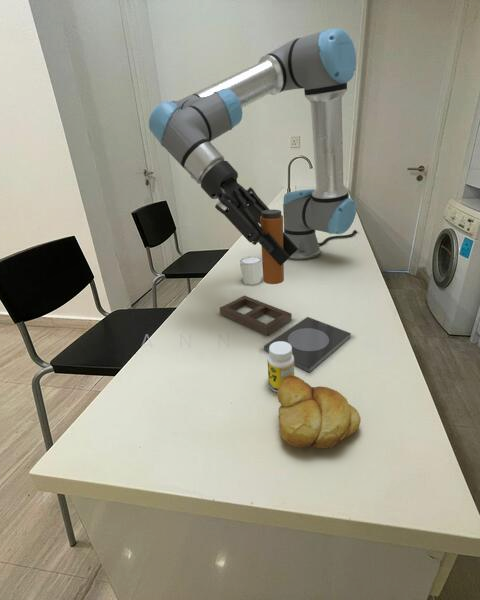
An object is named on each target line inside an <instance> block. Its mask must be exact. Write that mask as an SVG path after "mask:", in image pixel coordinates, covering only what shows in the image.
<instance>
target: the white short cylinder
mask: <svg viewBox="0 0 480 600" xmlns="http://www.w3.org/2000/svg"><path fill="white" fill-rule="evenodd" d="M239 265H240V266H239V267H240V271H241V276H242V277H241V278H242V281H243V284H245V285H250V286H251V285H257V284H259V283H261V282H262V269H263V265H262V257H259V256H247V257H243V258H241V259H239Z"/></svg>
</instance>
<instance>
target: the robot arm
mask: <svg viewBox="0 0 480 600" xmlns="http://www.w3.org/2000/svg"><path fill="white" fill-rule="evenodd" d="M356 68H357V53H356V48H355V44H354V42H353V39H352V38H351V37H350V35H349V33H348V32H347V31H345V30H344V29H342V28H331V29H325V30H321V31H318V32H315V33H312V34H308V35H305V36H302V37H297V38H295V39H291V40H290V41H287V42H286V43H284V44H283V45H281V46H279V47H277V48H276V49H274V50H271V52H268V53H266V54H265V55H263V56H261V57H260V58H259V60H258V62H257V63H256V64H254V65H252V66H250V67H247V68H245V69H243V70H240V71H238V72H236V73H234V74H233V75H230V76H228V77H226V78H223V79H222V80H219V81H217V82H215V83H213V84H211V85H209V86H207V87H205V88H202V89H200V90H198V91H196V92H193V93H192V94H189V95H188V96H185V97H183V98H181V99H179V100H172V101H171V100H170V101H167V100H166V101H163V102H161V103H159V104H158V105H156V106H155V108H154V109H153V110H152V112H151V113H150V115H149V117H148V129H149V131H150V132H151V133H152V135H153V137H155V139H156V140H157V142H158V143H159V144H160V146H161V147H164V149H165V150H167V152H168V153H169V154H170V155H171V156H172V157H173V159H174V160H175V161H176V162H177V163H178V164H179V165H180V166H181V167H182V168H183V169H184V170H185V171H186V172H187V173H188V175H190V177H191V179H193V181H195V183H197V184H198V185H200V188H201V189H202V190H203V191H204V192H205V193H206V194H207V196H208V197H209V198H210V199H211V200H217V199H218V202H217V203H216V204H215V207H214V208H215V209H216V210H217V211H218V212H220V214H222V215H223V216H225V218H226V219H227V221H229V222H230V223H231V225H233V227H235V228H236V230H237V231H238V232H239V233H240V234H241V235H242V236H243V237H244V238H245V239H246V241H248V242H249V243H251V244H252V245H254V246H256V245H257V244H260V246H261V248H262V247H263V248H264V249H265V250H266V251H267V252H268V253H269V254H270V255H271V256H272V257H273V259H274V260H275V261H276V262H277V263H278V264H279V265H280V266H281V265H282V264H283V263H284V264H285V263H286V262H287V261H288V260H310V259H313V258H316V257H318V256H319V255H320V252H321V251H320V250H321V248H320V246H323V245H324V244H326V243H327V241H329V240H333V239H343V238H350V237H353V236H354V235H355V234H358V230H356V229H353V231H352V232H351V233H350V234H345V233H346V232H347V231H349V230H350V228H351V226H352V224H353V223H354V222H355V218H356V214H357V204H356V201H355V200H354V199H352V198H350V196H349V188H347V187H346V186H345V184H344V150H343V147H344V146H343V104H342V103H343V99H342V98H343V96H344V95H345V93H346V92H347V91H348V83H349V82H350V81H351V80H352V79H353V77H354V75H355V71H356ZM300 89H301V90H303V92H304V98H306V100H307V101H309V103H310V113H311V126H312V127H311V128H312V130H311V131H312V144H313V159H314V173H315V189H314V188H311V189H310V188H309V189H298V190H293V191H289V192H286V193H284V195H283V204H282V216H283V248H282V247H281V246H280V245H279V244H278V243H277V242H276V241H275V240H274V238H273V237H272V236H271V235H270V234H269V233H268V234H266V235H265V232H264V231H263V229H262V228H261V224H260V217H261V216H262V214H261V212H262V211H264V210H271V209H270V208H269V207H268V206H267V205H266V204H265V202H264V201H263V200H262V199H261V198H260V197H259V196H258V194H257V193H256V191H255V189H254V188H253V187H251V186H250V187H249V188H248V189H246V188H245V187H243V185H241V184H240V183H239V182H238V178H239V172H238V171H237V170H236V169H235V168H234V167H233V166H232V164H231V163H230V162H229V161H227V160H225V156H224V155H223V154H222V153H221V152H220V151H219V150H218V149H217V147H216V146H214V145H213V144H212V143H211V142H212V141H214V140H215V139H217V138H219V137H220V136H222V135H224V134H226V133H227V132H229V131H232V130H233V129H234V128H235V127H236V126H237V125H239V124H240V122H241V121H242V119H243V108H245V107H246V106H248V105H250V104H252V103H254V102H256V101H258V100H260V99H262V98H264V97H266V96H267V95H271V96H276V95H278V94H281V92H286V91H292V90H300ZM316 231H318V232H323V233H326V234H330V235H333V236H329V237H326V238H325V239H324V240H323V241H322V242H319V241H318V238H317V234H316ZM342 234H343V235H342Z"/></svg>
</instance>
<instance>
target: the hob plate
mask: <svg viewBox="0 0 480 600" xmlns="http://www.w3.org/2000/svg"><path fill="white" fill-rule="evenodd" d="M351 336H352V333H351V332H349V331H346V330H343V329H341V328H339V327H335V326H333V325H331V324H329V323H326V322H322V321H319V320H317V319H314V318H312V317H309V316H307V317H304V318H303V319H302V320H301V321H299V322H298V323H296V324H295V325H293V326H291V327H290V328H288V329H287V330H286V331H284V332H283V333H281V334H280V335H278V336H277V337H275V338H274V339H272V340H271V341H269V342H268V343H266V344H264V345H263V351H265V352H267V353H269V347H270V345H271V344H272V343H274V342H278V341H284V342H287V343H289V344H290V345H291V346H292V354H293V356H294V367H297V368H299V369H301V370H303V371H305V372H307V373H310V372H312V371H313V370H314V369H315V368H316V367H318V366H319V365H320V364H321V363H322V362H323V361H324V360H326V359H327V358H328V357H330V355H332V354H333V353H334V352H335V351H336V350H337V349H338V348H340V347H341V346H342V345H343V344H345V342H347V341H348V340H349V339H350V338H351Z"/></svg>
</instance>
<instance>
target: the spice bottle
mask: <svg viewBox="0 0 480 600" xmlns="http://www.w3.org/2000/svg"><path fill="white" fill-rule="evenodd" d="M261 214H262V216H261V217H260V224H261V225H260V224H259V225H260V226H261V228H262V229H263V231H264V232H265V235H266V234H268V233H269V234H270V235H271V236H272V237H273V238H274V240H275V241H276V242H277V243H278V244H279V245H280V246H281V247H282V248H283V232H284V215H283V214H282V210H280V209H270V210H264V211H262V212H261ZM261 259H262V281H263V283H265V284H268V285H279V284H282V283H283V282H285V262H284V263H283V264H282V265H281V266H280V265H279V264H278V263H277V262H276V261H275V260H274V259H273V257H272V256H271V255H270V254H269V253H268V252H267V251H266V250H265V249H264V248H263V247H262V246H261Z"/></svg>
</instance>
